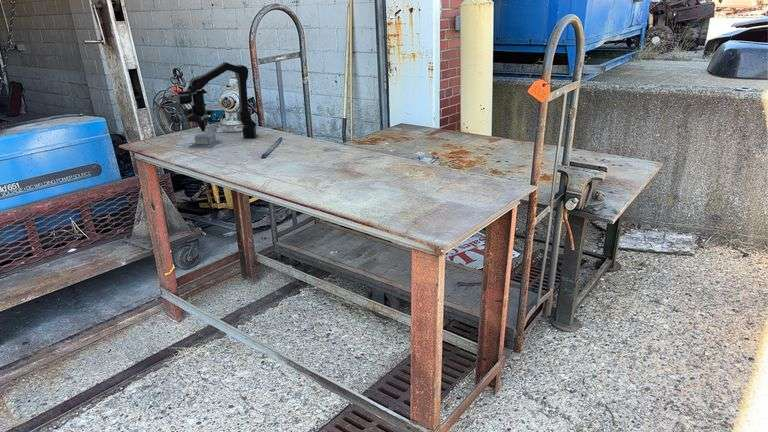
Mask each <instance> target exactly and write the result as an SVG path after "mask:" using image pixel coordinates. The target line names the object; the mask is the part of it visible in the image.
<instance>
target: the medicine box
mask: <svg viewBox="0 0 768 432" xmlns="http://www.w3.org/2000/svg"><path fill="white" fill-rule="evenodd" d="M216 136H217V135H216V133H214V132H211V133H210V132H201V133H199V134H197V135H194V141H195V142H194V143H196V144H204V145H209V144H211V143H213V142H215V141H217V138H216Z"/></svg>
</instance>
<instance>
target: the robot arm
mask: <svg viewBox="0 0 768 432" xmlns="http://www.w3.org/2000/svg"><path fill="white" fill-rule="evenodd" d="M227 71H229V72H232V73H234V75H235V78H236V81H237V85H238V86H237V89H238V100H239V101H238V102H239V110H236V119H237V120H238V122H239V123H241V124H242V136H243V137H242V138H243V139H255V138H256V137H258V136H259V135H258V134H257V128H256V127H257V123H256V122H255V121H254V120H253V119H252V115H251V113H250V110H249V103H248V102H249V99H248V91H247V90H248V87H247V85H248V84H247V81H248V78H249V68H248V67H247V66H245V65H242V64H237V65H235V64H232V63H229V62H226V61H224V62H222V63H221V64H220V65H217V66H216V67H214V68H213V69H210V70H209V71H207V72H206V73H204V74H201V75H198V76H195V77H192V78H191V79H189V82H188V83H189V85H188V87H187V88H186V90H182V91H181V90H180V91H179V90H178V91H176V93H177V94H176V100H177V103H178V105H180V106H181V105H182V106H183V105H189V104H191V103H193V104H192V105H191V108H187V107H186V108H184V109H183V110H182V112H183V113H182V114H183V115H184V116H186V117H187V118H186V119H187V123H197V125H198V127H199V129H200V130H201V133H205V131H206V128H207V125H208V121H209V119H210V117H208V115H209V116H212V117H213V116H214V115H215V113H214V112H215V111H214V110H213V109H206V106H207V103H205V96H204V94H208V91H206V90H205V89H204V87H206V85H208V83H209V82H210V81H212V80H213V79H216V78H217V77H218V76H221V75H222V74H224V73H225V72H227Z"/></svg>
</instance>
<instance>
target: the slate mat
mask: <svg viewBox="0 0 768 432" xmlns="http://www.w3.org/2000/svg"><path fill="white" fill-rule="evenodd" d="M220 143H221V140H216V141H215V142H213V143H211V144H209V145H204V144H196V143H195V142H194V143H192V144H191V145H189V146H188V148H205V149H206V148H208V149H212V148H213V147H215V146H216V145H218V144H220Z"/></svg>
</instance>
